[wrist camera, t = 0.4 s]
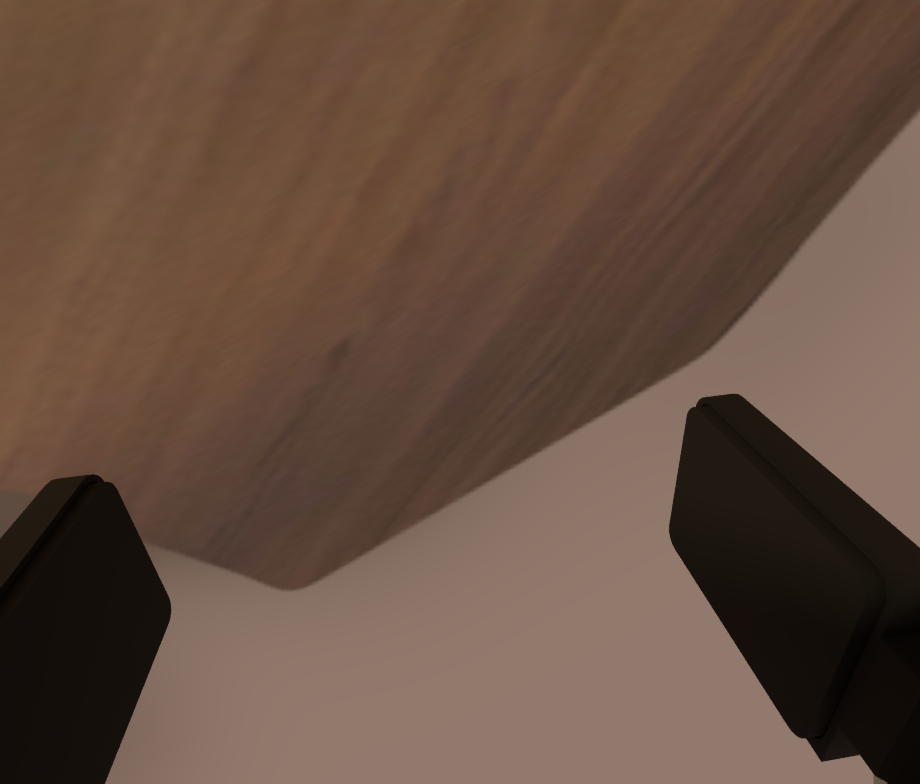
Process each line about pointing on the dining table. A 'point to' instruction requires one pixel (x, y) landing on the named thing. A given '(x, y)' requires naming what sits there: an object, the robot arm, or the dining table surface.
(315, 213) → the dining table surface
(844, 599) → the robot arm
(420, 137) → the dining table surface
